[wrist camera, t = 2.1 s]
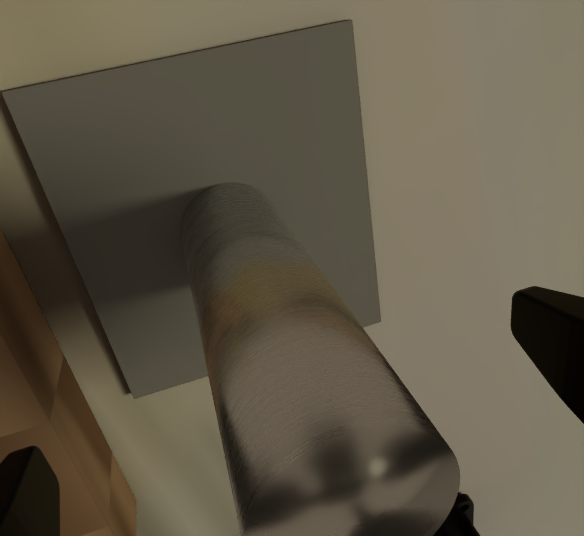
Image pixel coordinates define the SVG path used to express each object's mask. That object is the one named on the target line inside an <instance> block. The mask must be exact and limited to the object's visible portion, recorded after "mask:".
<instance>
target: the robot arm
mask: <svg viewBox="0 0 584 536" xmlns="http://www.w3.org/2000/svg"><path fill="white" fill-rule="evenodd" d="M511 331H512V334H513V336H514V337H515V339H516V340H517V342H518V343H519V344H520V346H521V347H522V348H523V350H524V351H525V352H526V354H527V355H528V356H529V358H530V359H531V360H532V362H533V363H534V364H535V366H536V367H537V368H538V370H539V371H540V372H541V374H542V375H543V376H544V378H545V379H546V380H547V382H548V383H549V384H550V386H551V387H552V388H553V389H554V391H555V392H556V393H557V394H558V396H559V397H560V398H561V399H562V400H563V402H564V403H565V404H566V405H567V406H568V407H569V408H570V410H571V411H572V412H573V413H574V414H575V415H576V416H577V417H578V418H579V419H580V420H581V421H582V423H583V424H584V297H580V296H576V295H571V294H567V293H563V292H558V291H554V290H550V289H546V288H541V287H537V286H532V287H528V288H525V289H522V290H519V291H517V292H515V293H514V295H513V297H512V309H511ZM473 512H474V504H473V502H472V500H471V499H470V497H469V496H468V495H467V494H462V495H458V496H457V497H456V500H455V502H454V505H453V507H452V509H451V511H450V513H449V515H448V516H447V518H446V519H445V521H444V522H443V524H442V525H441V527H440V528H439V529H438V530H437V531H436V532H435V534H434V535H433V536H480V535H479V533H478V532H477V530H476V529H475V527H474V526H473ZM0 536H60V487H59V482H58V479H57V476H56V475H55V473H54V471H53V469H52V468H51V466H50V464H49V463H48V461H47V459H46V458H45V456H44V454H43V453H42V451H41V450H40V448H38V447H37V446H33V445H32V446H28V447H25V448H22V449H19V450H16V451H13V452H11V453H9V454H8V455H7V456H6V457H5V458H4V459H3V461H2V462H1V463H0Z"/></svg>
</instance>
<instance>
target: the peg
mask: <svg viewBox="0 0 584 536" xmlns="http://www.w3.org/2000/svg"><path fill="white" fill-rule="evenodd" d="M180 238H181V243H182V248H183V253H184V258H185V263H186V268H187V273H188V278H189V283H190V287H191V292H192V297H193V302H194V307H195V312H196V317H197V322H198V327H199V332H200V336H201V341H202V346H203V351H204V356H205V361H206V366H207V371H208V376H209V381H210V385H211V390H212V395H213V400H214V405H215V410H216V415H217V420H218V425H219V430H220V434H221V439H222V444H223V449H224V454H225V459H226V464H227V469H228V474H229V479H230V483H231V488H232V493H233V498H234V503H235V508H236V513H237V518H238V523H239V528H240V532H241V536H433V535H434V534H435V532H436V531H437V530H438V529H439V528H440V527H441V525H442V524H443V522H444V521H445V519H446V518H447V516H448V515H449V513H450V511H451V509H452V507H453V505H454V502H455V500H456V497H457V494H458V490H459V484H460V470H459V465H458V462H457V459H456V457H455V455H454V453H453V451H452V450H451V448H450V447H449V446H448V444H447V443H446V442H445V440H444V439H443V437H442V436H441V435H440V433H439V432H438V431H437V429H436V428H435V426H434V425H433V424H432V422H431V421H430V420H429V418H428V417H427V415H426V414H425V413H424V411H423V410H422V409H421V407H420V406H419V404H418V403H417V402H416V400H415V399H414V398H413V396H412V395H411V393H410V392H409V391H408V389H407V388H406V387H405V385H404V384H403V382H402V381H401V380H400V378H399V377H398V376H397V374H396V373H395V371H394V370H393V369H392V367H391V366H390V365H389V363H388V362H387V360H386V359H385V358H384V356H383V355H382V354H381V352H380V351H379V349H378V348H377V347H376V345H375V344H374V342H373V341H372V340H371V338H370V337H369V336H368V334H367V333H366V331H365V330H364V329H363V327H362V326H361V325H360V323H359V322H358V320H357V319H356V318H355V316H354V315H353V314H352V312H351V311H350V309H349V308H348V307H347V305H346V304H345V303H344V301H343V300H342V298H341V297H340V296H339V294H338V293H337V292H336V290H335V289H334V287H333V286H332V285H331V283H330V282H329V281H328V279H327V278H326V276H325V275H324V274H323V272H322V271H321V270H320V268H319V267H318V265H317V264H316V263H315V261H314V260H313V259H312V257H311V256H310V254H309V253H308V252H307V250H306V249H305V248H304V246H303V245H302V243H301V242H300V241H299V239H298V238H297V236H296V235H295V234H294V232H293V231H292V230H291V228H290V227H289V225H288V224H287V223H286V221H285V220H284V219H283V217H282V216H281V214H280V213H279V212H278V210H277V209H276V208H275V206H274V205H273V203H272V202H271V201H270V200H269V198H268V197H267V196H266V195H265V194H264V193H262V192H261V191H259V190H258V189H256V188H254V187H252V186H250V185H247V184H242V183H234V182H230V183H222V184H218V185H214V186H212V187H210V188H207V189H206V190H204V191H202V192H201V193H200V194H198V195H197V196H196V197H195V198H194V199H193V200H192V201H191V202H190V204H189V205H188V206H187V208H186V210H185V212H184V214H183V217H182V220H181V225H180Z"/></svg>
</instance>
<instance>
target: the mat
mask: <svg viewBox="0 0 584 536" xmlns="http://www.w3.org/2000/svg"><path fill="white" fill-rule="evenodd" d="M1 93H2V95H3V97H4V99H5V102H6V104H7V106H8V109H9V111H10V113H11V116H12V118H13V120H14V123H15V125H16V127H17V130H18V132H19V134H20V136H21V139H22V141H23V143H24V146H25V148H26V150H27V153H28V155H29V157H30V160H31V162H32V164H33V166H34V169H35V171H36V173H37V176H38V178H39V180H40V183H41V185H42V187H43V190H44V192H45V194H46V197H47V199H48V201H49V203H50V206H51V208H52V210H53V213H54V215H55V217H56V220H57V222H58V224H59V227H60V229H61V231H62V234H63V236H64V238H65V240H66V243H67V245H68V247H69V250H70V252H71V254H72V257H73V259H74V261H75V264H76V266H77V268H78V271H79V273H80V275H81V277H82V280H83V282H84V284H85V287H86V289H87V291H88V294H89V296H90V298H91V301H92V303H93V305H94V308H95V310H96V312H97V314H98V317H99V319H100V321H101V324H102V326H103V328H104V331H105V333H106V335H107V338H108V340H109V342H110V345H111V347H112V349H113V351H114V354H115V356H116V358H117V361H118V363H119V365H120V368H121V370H122V372H123V375H124V377H125V379H126V382H127V384H128V386H129V388H130V391H131V393H132V395H133V398H134V399H136V398H139V397H142V396H145V395H148V394H151V393H155V392H158V391H161V390H164V389H167V388H171V387H174V386H177V385H180V384H183V383H187V382H190V381H193V380H196V379H199V378H203V377H206V376H208V371H207V366H206V361H205V356H204V351H203V346H202V341H201V336H200V332H199V327H198V322H197V317H196V312H195V307H194V302H193V297H192V292H191V287H190V283H189V278H188V273H187V268H186V263H185V258H184V253H183V248H182V243H181V238H180V225H181V220H182V217H183V214H184V212H185V210H186V208H187V206H188V205H189V204H190V202H191V201H192V200H193V199H194V198H195V197H196V196H197V195H198V194H200V193H201V192H202V191H204V190H206V189H207V188H210V187H212V186H214V185H218V184H222V183H230V182H234V183H242V184H247V185H250V186H252V187H254V188H256V189H258V190H259V191H261V192H262V193H264V194H265V195H266V196H267V197H268V198H269V200H270V201H271V202H272V203H273V205H274V206H275V208H276V209H277V210H278V212H279V213H280V214H281V216H282V217H283V219H284V220H285V221H286V223H287V224H288V225H289V227H290V228H291V230H292V231H293V232H294V234H295V235H296V236H297V238H298V239H299V241H300V242H301V243H302V245H303V246H304V248H305V249H306V250H307V252H308V253H309V254H310V256H311V257H312V259H313V260H314V261H315V263H316V264H317V265H318V267H319V268H320V270H321V271H322V272H323V274H324V275H325V276H326V278H327V279H328V281H329V282H330V283H331V285H332V286H333V287H334V289H335V290H336V292H337V293H338V294H339V296H340V297H341V298H342V300H343V301H344V303H345V304H346V305H347V307H348V308H349V309H350V311H351V312H352V314H353V315H354V316H355V318H356V319H357V320H358V322H359V323H360V325H361V326H362V327H365V326H369V325H372V324H375V323H378V322H381V315H380V305H379V294H378V284H377V273H376V263H375V253H374V242H373V232H372V221H371V211H370V200H369V190H368V180H367V169H366V159H365V148H364V138H363V128H362V117H361V107H360V96H359V86H358V75H357V65H356V55H355V44H354V34H353V23H352V20H344V21H339V22H334V23H329V24H324V25H320V26H315V27H310V28H305V29H300V30H295V31H291V32H286V33H281V34H276V35H271V36H266V37H261V38H257V39H252V40H247V41H242V42H237V43H232V44H228V45H223V46H218V47H213V48H208V49H203V50H199V51H194V52H189V53H184V54H179V55H174V56H170V57H165V58H160V59H155V60H150V61H145V62H140V63H136V64H131V65H126V66H121V67H116V68H111V69H107V70H102V71H97V72H92V73H87V74H82V75H78V76H73V77H68V78H63V79H58V80H53V81H48V82H44V83H39V84H34V85H29V86H24V87H19V88H15V89H10V90H5V91H3V92H1Z"/></svg>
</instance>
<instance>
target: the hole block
mask: <svg viewBox="0 0 584 536" xmlns="http://www.w3.org/2000/svg"><path fill="white" fill-rule="evenodd" d="M32 445H33V446H37V447H38V448H40V450H41V451H42V453H43V454H44V456H45V458H46V459H47V461H48V463H49V464H50V466H51V468H52V469H53V471H54V473H55V475H56V476H57V479H58V482H59V487H60V536H136V500H135V498H134V496H133V494H132V492H131V490H130V488H129V486H128V484H127V482H126V480H125V478H124V476H123V474H122V472H121V470H120V468H119V466H118V464H117V462H116V460H115V458H114V456H113V454H112V452H111V450H110V447H109V445H108V443H107V441H106V439H105V437H104V435H103V433H102V431H101V429H100V427H99V425H98V423H97V421H96V419H95V417H94V415H93V413H92V411H91V409H90V407H89V405H88V403H87V401H86V399H85V397H84V395H83V393H82V391H81V389H80V387H79V385H78V383H77V381H76V379H75V377H74V375H73V373H72V371H71V369H70V367H69V365H68V363H67V361H66V359H65V357H64V355H63V353H62V351H61V349H60V347H59V345H58V343H57V341H56V339H55V337H54V335H53V333H52V331H51V329H50V327H49V325H48V323H47V321H46V319H45V317H44V315H43V313H42V311H41V309H40V307H39V305H38V303H37V301H36V299H35V297H34V295H33V293H32V291H31V288H30V286H29V284H28V282H27V280H26V278H25V276H24V274H23V272H22V270H21V268H20V266H19V264H18V262H17V260H16V258H15V256H14V254H13V252H12V250H11V248H10V246H9V244H8V242H7V240H6V238H5V236H4V234H3V232H2V230H1V228H0V463H1V462H2V461H3V459H4V458H5V457H6V456H7V455H8V454H9V453H11V452H13V451H16V450H19V449H22V448H25V447H28V446H32Z"/></svg>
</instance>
